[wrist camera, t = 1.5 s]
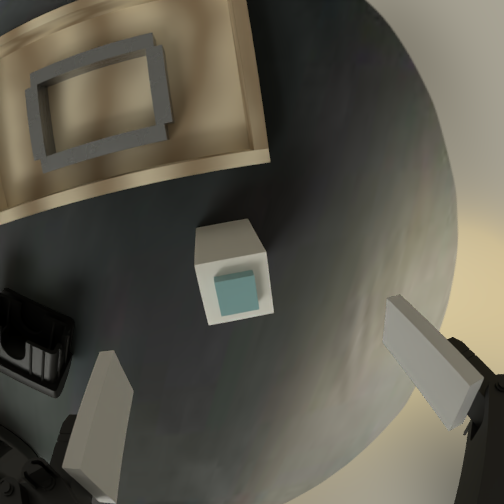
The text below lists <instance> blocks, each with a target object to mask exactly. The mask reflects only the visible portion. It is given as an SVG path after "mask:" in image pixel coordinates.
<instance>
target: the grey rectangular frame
mask: <svg viewBox="0 0 504 504" xmlns="http://www.w3.org/2000/svg"><path fill="white" fill-rule="evenodd" d="M143 56H146V57H147V65H148V73H149V81H150V88H151V95H152V102H153V109H154V116H155V122H156V125H155V126H150V127H146V128H142V129H138V130H133V131H129V132H126V133H122V134H118V135H114V136H110V137H107V138H103V139H100V140H96V141H93V142H89V143H86V144H83V145H80V146H76V147H73V148H70V149H67V150H64V151H61V152H58V153H56V147H55V142H54V135H53V129H52V122H51V114H50V106H49V96H48V87H49V86H52V85H54V84H57V83H59V82H62V81H65V80H67V79H70V78H73V77H75V76H78V75H81V74H84V73H87V72H90V71H93V70H96V69H99V68H103V67H106V66H109V65H113V64H116V63H120V62H123V61H127V60H131V59H135V58H139V57H143ZM30 84H31V87H30V88H28V89H26V90H25V98H26V108H27V117H28V125H29V133H30V139H31V146H32V152H33V157H34V161H37V160H40V161H41V166H42V171H43V174H44V173H47V172H50V171H54V170H57V169H60V168H63V167H66V166H69V165H72V164H76V163H79V162H82V161H86V160H89V159H93V158H96V157H100V156H103V155H107V154H111V153H114V152H118V151H122V150H126V149H130V148H134V147H138V146H143V145H147V144H151V143H156V142H161V141H165V140H170V138H169V132H168V124H172V123H175V119H174V113H173V106H172V99H171V92H170V85H169V78H168V71H167V63H166V55H165V50H164V48H163V46H162V45H158V46H157V45H156V39H155V37H154V35H153V33H148V34H143V35H139V36H135V37H131V38H127V39H124V40H120V41H117V42H113V43H110V44H106V45H103V46H100V47H97V48H94V49H91V50H88V51H85V52H82V53H79V54H76V55H74V56H71V57H68V58H66V59H63V60H61V61H58V62H56V63H53V64H51V65H48V66H46V67H44V68H41V69H39V70H37V71H35V72H32V73H30Z"/></svg>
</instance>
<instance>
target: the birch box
mask: <svg viewBox="0 0 504 504" xmlns="http://www.w3.org/2000/svg"><path fill="white" fill-rule="evenodd" d="M148 33H153V35H154V37H155V39H156V45H157V46H158V45H162V46H163V48H164V50H165V55H166V63H167V71H168V78H169V85H170V92H171V99H172V106H173V113H174V119H175V123H172V124H168V132H169V138H170V140H165V141H161V142H156V143H151V144H147V145H143V146H138V147H134V148H130V149H126V150H122V151H118V152H114V153H111V154H107V155H103V156H100V157H96V158H93V159H89V160H86V161H82V162H79V163H76V164H72V165H69V166H66V167H63V168H60V169H57V170H54V171H50V172H47V173H44V174H43V171H42V166H41V161H40V160H37V161H34V157H33V152H32V146H31V139H30V133H29V125H28V117H27V108H26V98H25V90H26V89H28V88H30V87H31V84H30V73H32V72H35V71H37V70H39V69H41V68H44V67H46V66H48V65H51V64H53V63H56V62H58V61H61V60H63V59H66V58H68V57H71V56H74V55H76V54H79V53H82V52H85V51H88V50H91V49H94V48H97V47H100V46H103V45H106V44H110V43H113V42H117V41H120V40H124V39H127V38H131V37H135V36H139V35H143V34H148ZM48 96H49V106H50V114H51V122H52V129H53V135H54V142H55V147H56V153H58V152H61V151H64V150H67V149H70V148H73V147H76V146H80V145H83V144H86V143H89V142H93V141H96V140H100V139H103V138H107V137H110V136H114V135H118V134H122V133H126V132H129V131H133V130H138V129H142V128H146V127H150V126H155V125H156V122H155V116H154V109H153V102H152V95H151V88H150V81H149V73H148V65H147V57H146V56H143V57H139V58H135V59H131V60H127V61H123V62H120V63H116V64H113V65H109V66H106V67H103V68H99V69H96V70H93V71H90V72H87V73H84V74H81V75H78V76H75V77H73V78H70V79H67V80H65V81H62V82H59V83H57V84H54V85H52V86H49V87H48ZM269 162H270V155H269V148H268V140H267V133H266V126H265V118H264V111H263V104H262V97H261V91H260V84H259V77H258V71H257V64H256V58H255V51H254V45H253V39H252V32H251V26H250V20H249V14H248V8H247V3H246V0H77V1H75V2H72V3H70V4H67V5H64V6H62V7H60V8H57V9H55V10H53V11H50V12H48V13H46V14H44V15H41V16H39V17H37V18H35V19H33V20H31V21H29V22H27V23H25V24H23V25H21V26H19V27H17V28H15V29H13V30H11V31H10V32H8V33H6V34H4V35H3V36H1V37H0V225H2V224H5V223H8V222H11V221H14V220H17V219H20V218H23V217H26V216H29V215H32V214H36V213H39V212H42V211H46V210H49V209H52V208H56V207H59V206H63V205H66V204H70V203H73V202H77V201H81V200H85V199H88V198H92V197H96V196H100V195H104V194H108V193H112V192H116V191H120V190H124V189H129V188H133V187H137V186H142V185H146V184H151V183H155V182H160V181H165V180H170V179H175V178H180V177H185V176H190V175H195V174H201V173H206V172H212V171H218V170H223V169H229V168H236V167H242V166H248V165H255V164H262V163H269Z"/></svg>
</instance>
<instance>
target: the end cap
mask: <svg viewBox="0 0 504 504" xmlns="http://www.w3.org/2000/svg"><path fill="white" fill-rule="evenodd" d="M74 325H75V324H74V320H73V319H72V318H70V317H68V316H66V315H63V314H61V313H59V312H56V311H54V310H52V309H50V308H48V307H45V306H43V305H41V304H39V303H37V302H35V301H33V300H31V299H28V298H26V297H24V296H22V295H20V294H18V293H16V292H14V291H12V290H10V289H8V288H5V289H4V290H3V291H2V293H0V372H2V373H4V374H6V375H7V376H9V377H11V378H13V379H15V380H17V381H19V382H21V383H23V384H25V385H27V386H29V387H31V388H33V389H35V390H38V391H40V392H42V393H44V394H46V395H49V396H51V397H53V398H58V397H59V396H60V394H61V392H62V390H63V388H64V385H65V382H66V379H67V376H68V372H69V369H70V365H71V360H72V355H73V354H72V352H70V349H71V343H72V336H73V330H74Z"/></svg>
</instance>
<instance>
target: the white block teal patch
mask: <svg viewBox="0 0 504 504" xmlns="http://www.w3.org/2000/svg"><path fill="white" fill-rule="evenodd" d="M194 266H195V270H196V275H197V279H198V283H199V288H200V292H201V296H202V300H203V304H204V309H205V313H206V317H207V321H208V325H213V324H219V323H224V322H230V321H235V320H240V319H245V318H250V317H255V316H260V315H265V314H270V313H274V310H273V302H272V294H271V286H270V278H269V270H268V262H267V254H266V251H265V249H264V247H263V245H262V243H261V241H260V240H259V238H258V236H257V234H256V232H255V231H254V229H253V227H252V225H251V223H250V222H249V220H248V219H242V220H236V221H231V222H225V223H220V224H214V225H209V226H203V227H198V228H196V239H195V260H194Z"/></svg>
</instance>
